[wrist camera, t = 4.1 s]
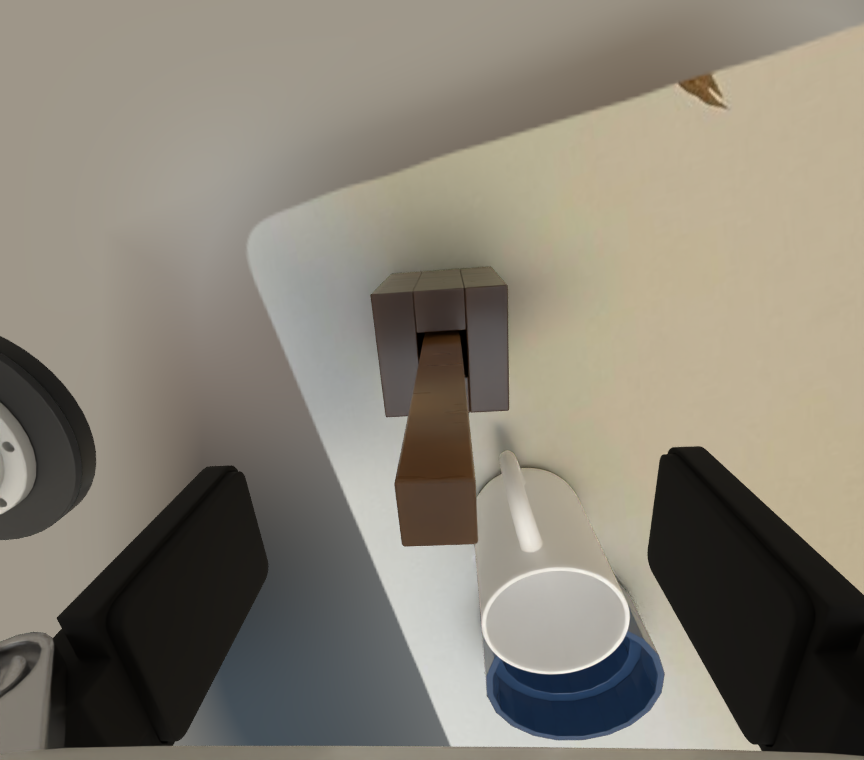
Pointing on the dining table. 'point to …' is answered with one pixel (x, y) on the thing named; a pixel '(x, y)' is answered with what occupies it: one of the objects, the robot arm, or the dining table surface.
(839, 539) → the dining table surface
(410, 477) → the stick
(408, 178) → the dining table surface
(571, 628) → the cup
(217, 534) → the robot arm
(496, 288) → the stand
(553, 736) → the bowl
